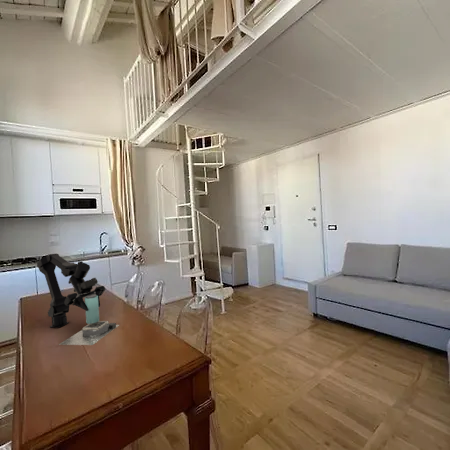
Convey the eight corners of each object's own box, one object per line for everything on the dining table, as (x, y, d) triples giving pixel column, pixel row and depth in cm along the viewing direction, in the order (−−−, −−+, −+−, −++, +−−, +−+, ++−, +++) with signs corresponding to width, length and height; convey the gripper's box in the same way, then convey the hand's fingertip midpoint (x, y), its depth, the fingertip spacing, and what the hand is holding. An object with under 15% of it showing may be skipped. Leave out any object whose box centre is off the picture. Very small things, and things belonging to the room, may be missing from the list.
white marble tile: (58, 346, 118) (57, 336, 118) (90, 326, 140) (89, 318, 140) (92, 347, 115) (92, 336, 115) (119, 326, 137) (119, 317, 137)
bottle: (84, 324, 125) (82, 297, 125) (89, 319, 131) (87, 294, 131) (97, 322, 126) (95, 296, 126) (101, 318, 132) (99, 293, 131)
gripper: (65, 277, 122) (81, 304, 117) (102, 270, 138) (117, 292, 133) (58, 293, 126) (72, 318, 121) (94, 283, 142) (108, 306, 137)
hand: (93, 308), depth 128 cm, fingers closed on bottle, 6 cm apart
